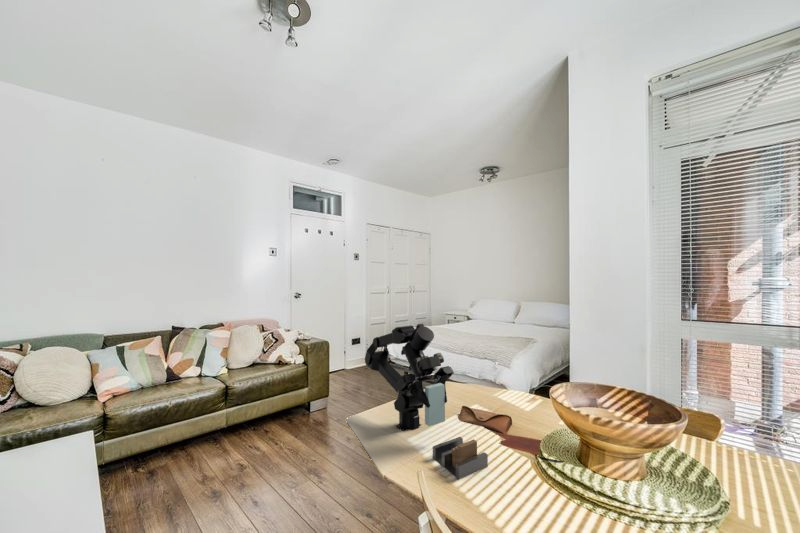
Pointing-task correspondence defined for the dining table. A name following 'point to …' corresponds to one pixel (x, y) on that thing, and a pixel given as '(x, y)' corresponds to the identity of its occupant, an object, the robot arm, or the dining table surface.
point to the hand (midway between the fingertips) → (437, 404)
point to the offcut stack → (464, 452)
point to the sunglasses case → (486, 419)
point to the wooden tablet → (520, 443)
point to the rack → (464, 468)
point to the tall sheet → (435, 404)
